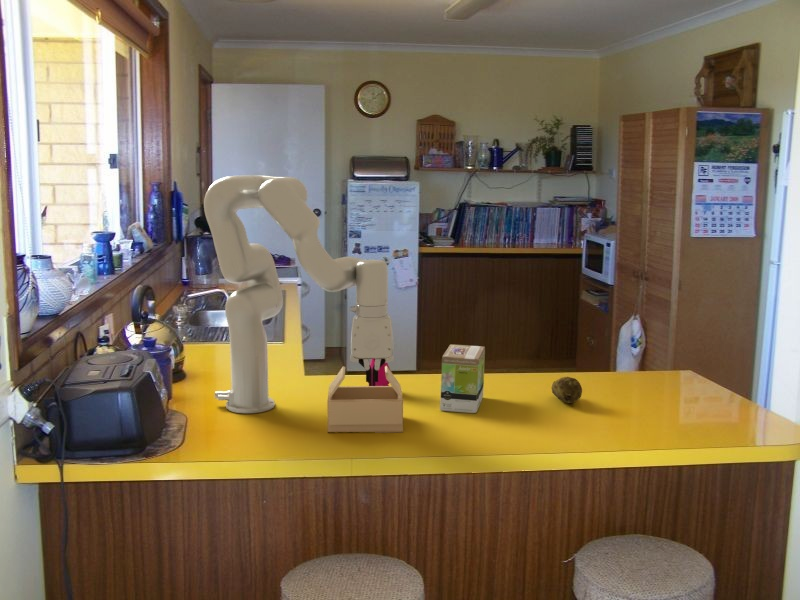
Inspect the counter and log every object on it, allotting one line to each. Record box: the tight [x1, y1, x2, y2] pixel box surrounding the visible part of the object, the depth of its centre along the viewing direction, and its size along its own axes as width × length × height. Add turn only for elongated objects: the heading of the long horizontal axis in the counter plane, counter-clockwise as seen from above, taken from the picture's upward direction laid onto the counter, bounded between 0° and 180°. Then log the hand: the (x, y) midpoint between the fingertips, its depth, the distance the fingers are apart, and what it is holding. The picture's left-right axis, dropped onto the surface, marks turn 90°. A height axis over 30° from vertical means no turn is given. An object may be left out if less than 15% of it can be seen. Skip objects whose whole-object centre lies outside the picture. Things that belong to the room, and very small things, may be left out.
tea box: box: [439, 344, 486, 414], centre depth 224 cm, size 15×10×15 cm, turn 168°
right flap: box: [385, 366, 403, 397], centre depth 207 cm, size 1×10×6 cm
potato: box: [551, 376, 583, 404], centre depth 226 cm, size 8×13×8 cm, turn 167°
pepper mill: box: [367, 359, 392, 386], centre depth 233 cm, size 7×7×20 cm
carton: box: [326, 385, 404, 433], centre depth 208 cm, size 18×13×8 cm
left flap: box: [327, 366, 346, 398], centre depth 206 cm, size 1×10×6 cm
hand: (372, 384), depth 207 cm, fingers closed
